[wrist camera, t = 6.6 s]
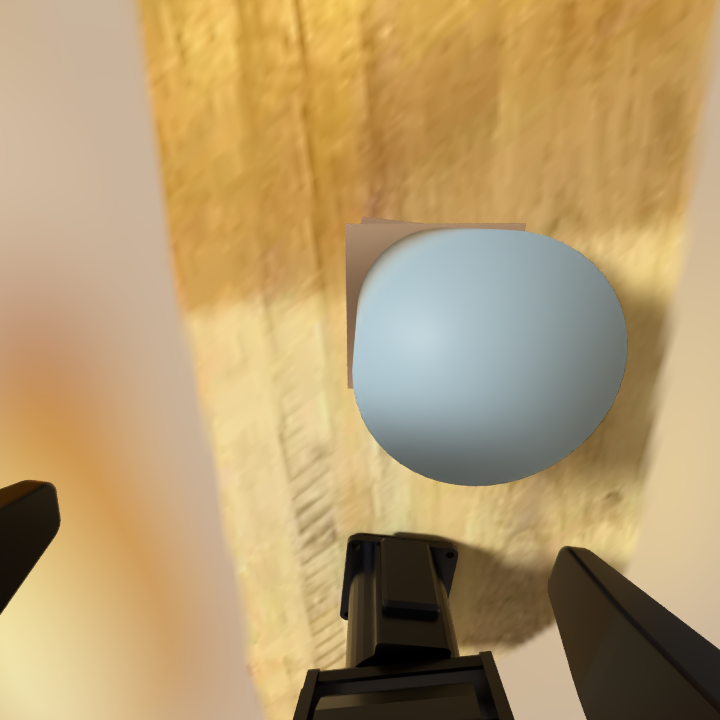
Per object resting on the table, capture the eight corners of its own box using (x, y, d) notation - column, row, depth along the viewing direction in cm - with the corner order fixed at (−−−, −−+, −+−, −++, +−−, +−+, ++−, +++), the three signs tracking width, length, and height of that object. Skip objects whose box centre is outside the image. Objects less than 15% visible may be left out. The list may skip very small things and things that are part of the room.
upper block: (475, 354, 16) (504, 389, 12) (352, 354, 16) (347, 388, 12) (488, 223, 14) (526, 223, 11) (350, 223, 14) (345, 224, 11)
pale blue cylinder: (495, 395, 12) (575, 499, 8) (347, 375, 12) (336, 469, 8) (538, 241, 11) (673, 253, 6) (370, 215, 11) (374, 208, 6)
